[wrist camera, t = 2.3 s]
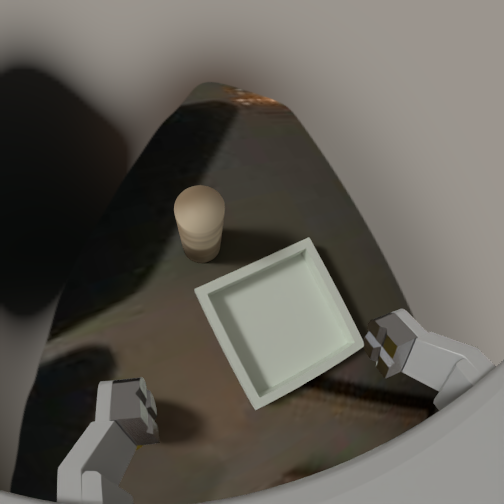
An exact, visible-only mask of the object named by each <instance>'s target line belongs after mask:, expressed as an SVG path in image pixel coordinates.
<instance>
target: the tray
mask: <svg viewBox="0 0 504 504" xmlns="http://www.w3.org/2000/svg"><path fill="white" fill-rule="evenodd" d="M194 290H195V294H196V296H197V298H198V300H199V302H200V305H201V307H202V309H203V311H204V313H205V315H206V317H207V319H208V321H209V324H210V326H211V328H212V330H213V332H214V334H215V336H216V338H217V340H218V342H219V344H220V346H221V348H222V350H223V352H224V354H225V356H226V358H227V360H228V362H229V364H230V365H231V367H232V369H233V371H234V373H235V375H236V377H237V379H238V381H239V383H240V384H241V386H242V388H243V390H244V392H245V394H246V396H247V397H248V399H249V401H250V403H251V405H252V406H253V407H254V409H255V410H257V409H259V408H261V407H263V406H265V405H267V404H269V403H271V402H272V401H274V400H276V399H278V398H280V397H282V396H284V395H286V394H287V393H289V392H291V391H293V390H295V389H296V388H298V387H300V386H302V385H303V384H305V383H307V382H309V381H310V380H312V379H314V378H315V377H317V376H319V375H320V374H322V373H324V372H325V371H327V370H329V369H330V368H332V367H333V366H335V365H336V364H338V363H340V362H341V361H343V360H344V359H346V358H347V357H349V356H350V355H352V354H353V353H355V352H356V351H358V350H359V349H361V348H362V347H364V342H363V340H362V337H361V335H360V333H359V331H358V329H357V327H356V325H355V323H354V321H353V319H352V317H351V315H350V313H349V311H348V309H347V307H346V305H345V303H344V301H343V299H342V297H341V296H340V294H339V292H338V290H337V288H336V286H335V284H334V282H333V280H332V278H331V276H330V275H329V273H328V271H327V269H326V267H325V265H324V263H323V261H322V260H321V258H320V256H319V254H318V252H317V250H316V249H315V247H314V245H313V243H312V241H311V240H310V238H309V237H308V238H306V239H304V240H302V241H300V242H298V243H295V244H293V245H291V246H289V247H287V248H284V249H282V250H280V251H278V252H276V253H273V254H271V255H269V256H267V257H265V258H262V259H260V260H258V261H256V262H254V263H251V264H249V265H247V266H245V267H243V268H240V269H238V270H236V271H234V272H231V273H229V274H227V275H225V276H223V277H220V278H218V279H216V280H214V281H211V282H209V283H207V284H205V285H203V286H200V287H198V288H196V289H194Z"/></svg>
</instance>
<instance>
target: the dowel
mask: <svg viewBox="0 0 504 504" xmlns="http://www.w3.org/2000/svg"><path fill="white" fill-rule="evenodd" d="M174 212H175V217H176V221H177V225H178V230H179V234H180V238H181V242H182V246H183V249H184V252H185V254H186V256H187V257H188V258H189V259H190V260H192V261H194V262H197V263H206V262H209V261H211V260H213V259H214V258H215V257H216V256H217V255H218V253H219V250H220V245H221V237H222V228H223V220H224V212H225V204H224V200H223V198H222V197H221V195H220V194H219V193H218V192H217V191H216V190H214V189H213V188H210V187H207V186H200V185H199V186H193V187H190V188H188V189H186V190H184V191H183V192H182V193H181V194H180V195H179V196H178V198H177V199H176V202H175V205H174Z"/></svg>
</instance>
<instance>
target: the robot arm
mask: <svg viewBox="0 0 504 504" xmlns="http://www.w3.org/2000/svg"><path fill="white" fill-rule="evenodd" d="M367 329H368V330H369V332H368V333H367V335H366V336H365V338H364V349H365V352H366V354H367V355H368V357H369V358H370V359H371V360H374V361H376V368H377V369H378V370H379V372H380V373H381V374H382V375H383V377H384V378H388V377H390V376H392V375H394V374H397V373H399V372H401V371H402V372H403V373H405V374H407V375H408V376H410V377H412V378H414V379H416V380H418V381H420V382H422V383H424V384H426V385H427V386H429V387H431V388H433V389H435V390H437V391H439V393H438V394H437V396H436V397H435V399H434V402H433V403H434V404H435V406H436V407H437V408H438V410H439V411H438V412H437V413H435V414H434V415H432V416H431V417H429V418H428V419H426V420H424V421H423V422H421V423H420V424H418V425H416V426H415V427H413V428H411V429H410V430H408V431H406V432H404V433H403V434H401V435H399V436H397V437H396V438H394V439H392V440H390V441H388V442H386V443H384V444H382V445H380V446H378V447H377V448H374V449H372V450H370V451H368V452H366V453H364V454H362V455H360V456H358V457H356V458H353V459H351V460H349V461H346V462H344V463H342V464H339V465H337V466H335V467H332V468H330V469H327V470H324V471H322V472H319V473H316V474H314V475H311V476H308V477H305V478H302V479H299V480H296V481H293V482H290V483H287V484H283V485H280V486H276V487H273V488H269V489H266V490H262V491H258V492H254V493H249V494H245V495H240V496H236V497H231V498H226V499H220V500H214V501H208V502H201V503H194V504H504V360H503V361H502V362H501V363H500V364H499V365H498V366H495V365H494V364H493V363H492V362H491V361H490V360H489V359H488V358H487V357H486V356H485V355H484V354H483V353H482V352H481V351H480V350H479V349H478V348H477V347H474V346H471V345H468V344H465V343H462V342H459V341H457V340H454V339H451V338H448V337H445V336H442V335H439V334H436V333H433V332H427V331H426V330H425V329H424V328H423V327H422V326H421V325H420V324H419V323H418V322H417V321H416V320H415V319H414V318H413V317H412V316H411V315H410V314H409V313H408V312H407V311H406V310H404V309H399V310H396V311H394V312H391V313H388V314H386V315H383V316H380V317H378V318H375V319H372V320H370V322H369V323H368V326H367ZM156 417H157V411H156V405H155V401H154V398H153V396H152V394H151V392H150V391H149V390H147V389H146V383H145V381H144V379H143V378H132V379H123V380H113V381H102V382H100V384H99V386H98V395H97V406H96V420H95V422H91V424H90V425H89V426H88V428H87V429H86V430H85V432H84V433H83V434H82V436H81V437H80V439H79V440H78V441H77V443H76V444H75V445H74V447H73V448H72V450H71V451H70V452H69V454H68V455H67V456H66V458H65V459H64V461H63V462H62V463H61V465H60V466H59V468H58V481H57V502H51V501H45V500H40V499H35V498H30V497H25V496H21V495H17V494H13V493H9V492H5V491H2V490H0V504H134V503H133V496H132V495H131V494H129V493H128V492H126V491H125V490H123V489H122V488H120V487H119V486H118V485H119V483H120V481H121V479H122V477H123V475H124V473H125V471H126V469H127V467H128V465H129V463H130V460H131V458H132V456H133V454H134V452H135V450H136V448H137V446H139V445H148V444H155V443H160V441H159V431H158V426H157V424H156V423H155V421H154V420H155V418H156Z"/></svg>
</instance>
